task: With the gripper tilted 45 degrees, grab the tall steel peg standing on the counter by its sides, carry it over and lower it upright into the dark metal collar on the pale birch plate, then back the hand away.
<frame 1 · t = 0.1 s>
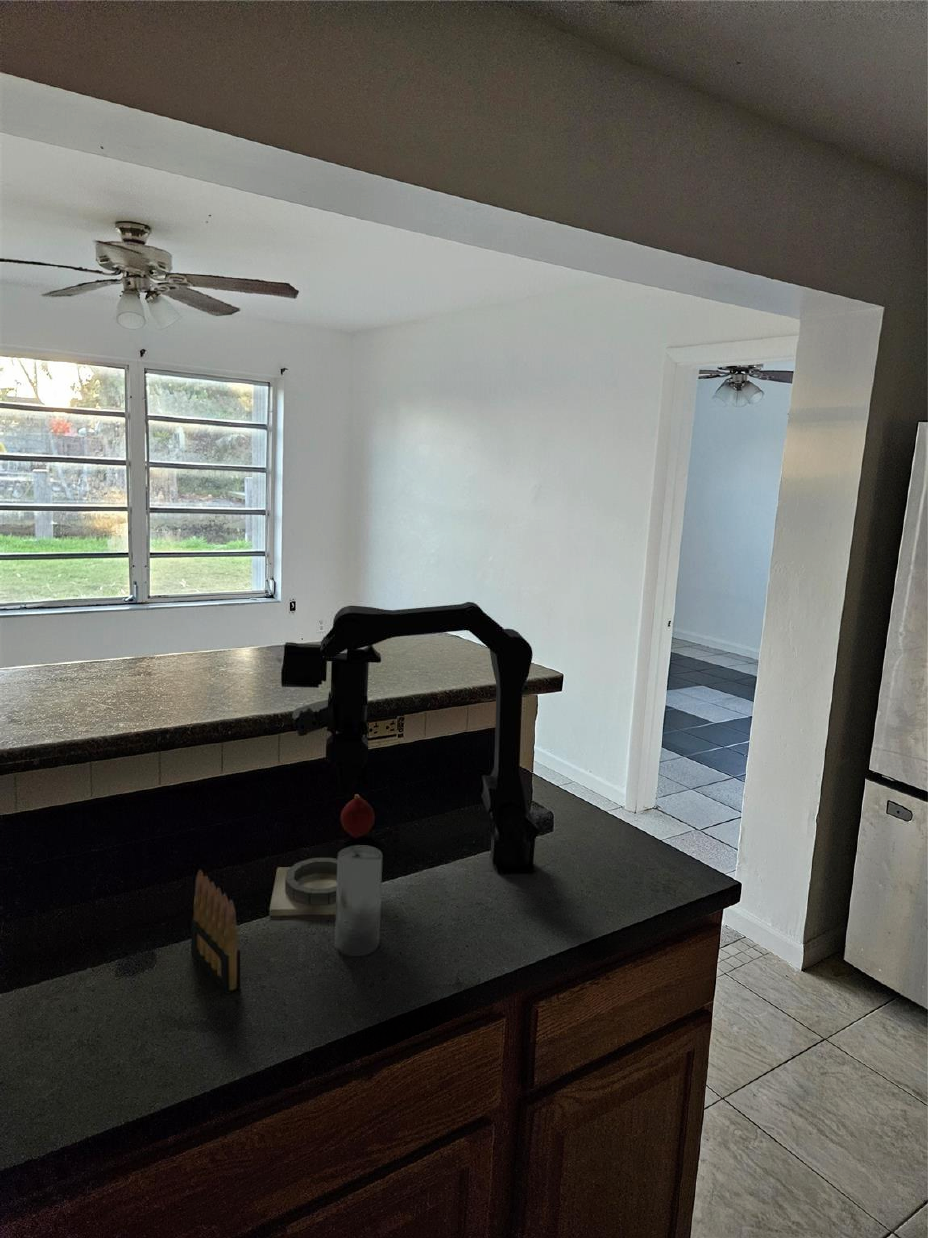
hand: (345, 782, 125), 15 cm above the counter, tool pointing down, fingers open, 9 cm apart
steel peg: (356, 943, 108), on the counter
socket plate: (320, 892, 120), on the counter
ammunition clip: (215, 971, 100), on the counter
onion: (356, 838, 138), on the counter
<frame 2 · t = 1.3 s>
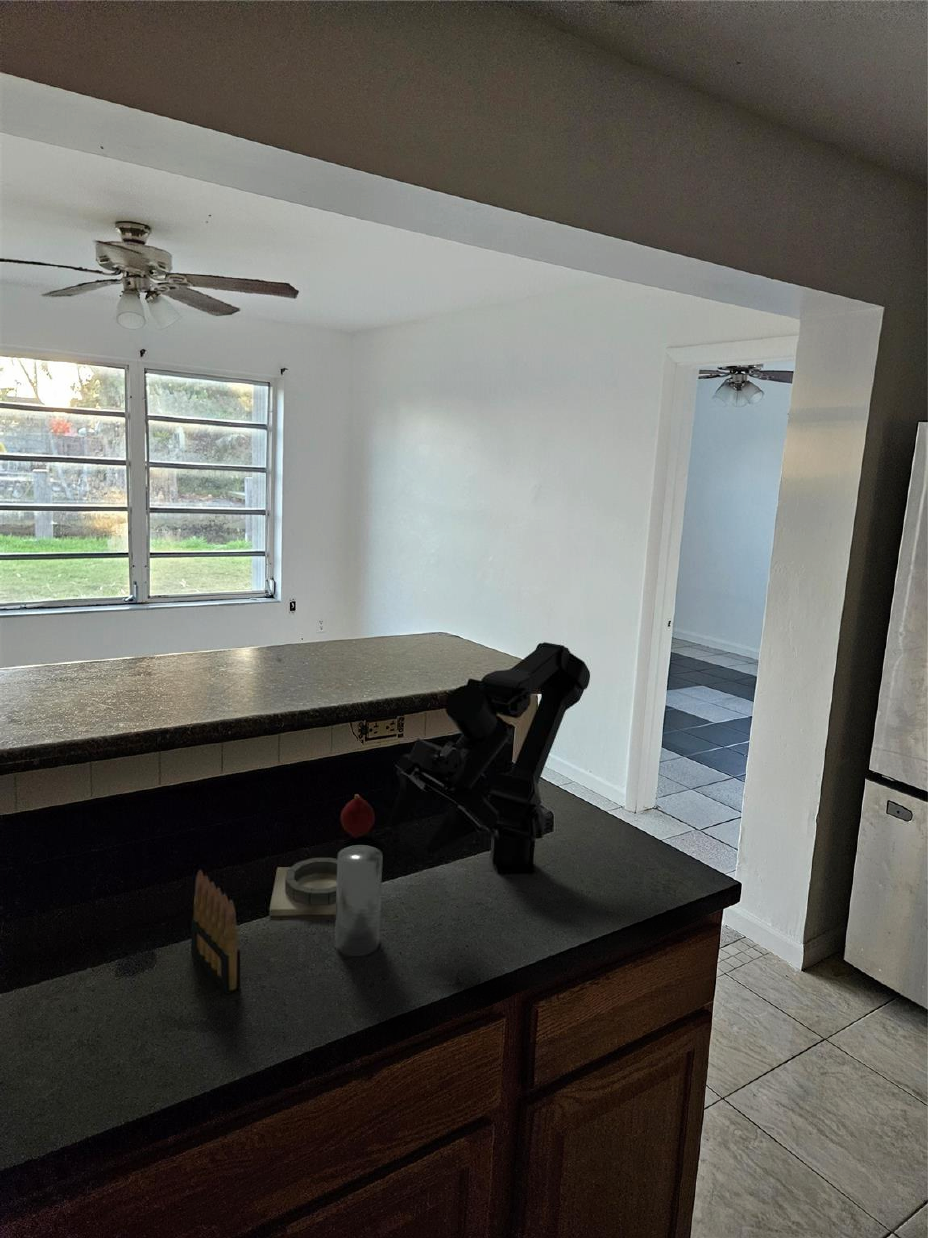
hand: (408, 839, 110), 13 cm above the counter, tool tilted 45°, fingers open, 9 cm apart
nothing on the counter moved.
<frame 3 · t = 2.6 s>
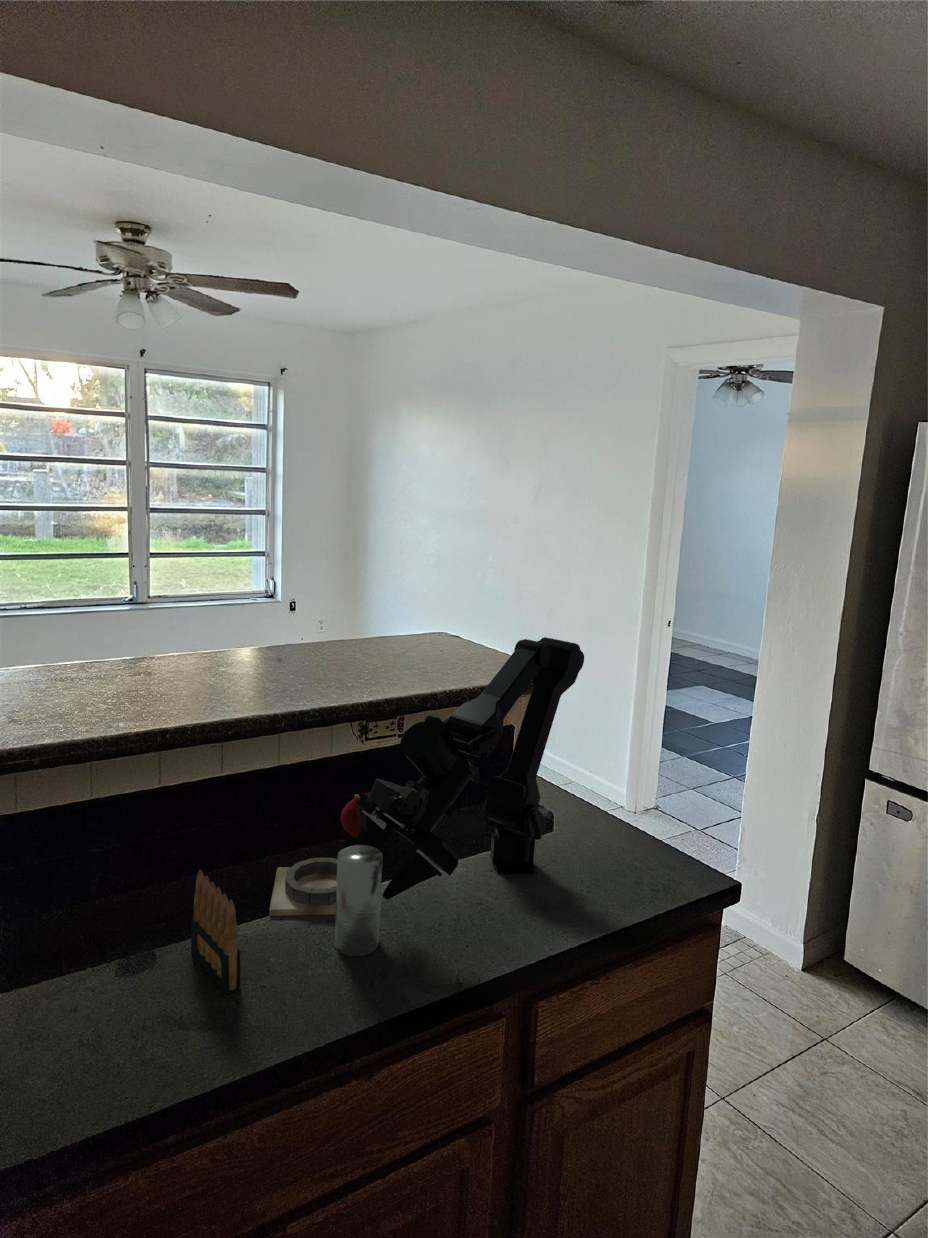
hand: (366, 882, 107), 9 cm above the counter, tool tilted 45°, fingers open, 9 cm apart
nothing on the counter moved.
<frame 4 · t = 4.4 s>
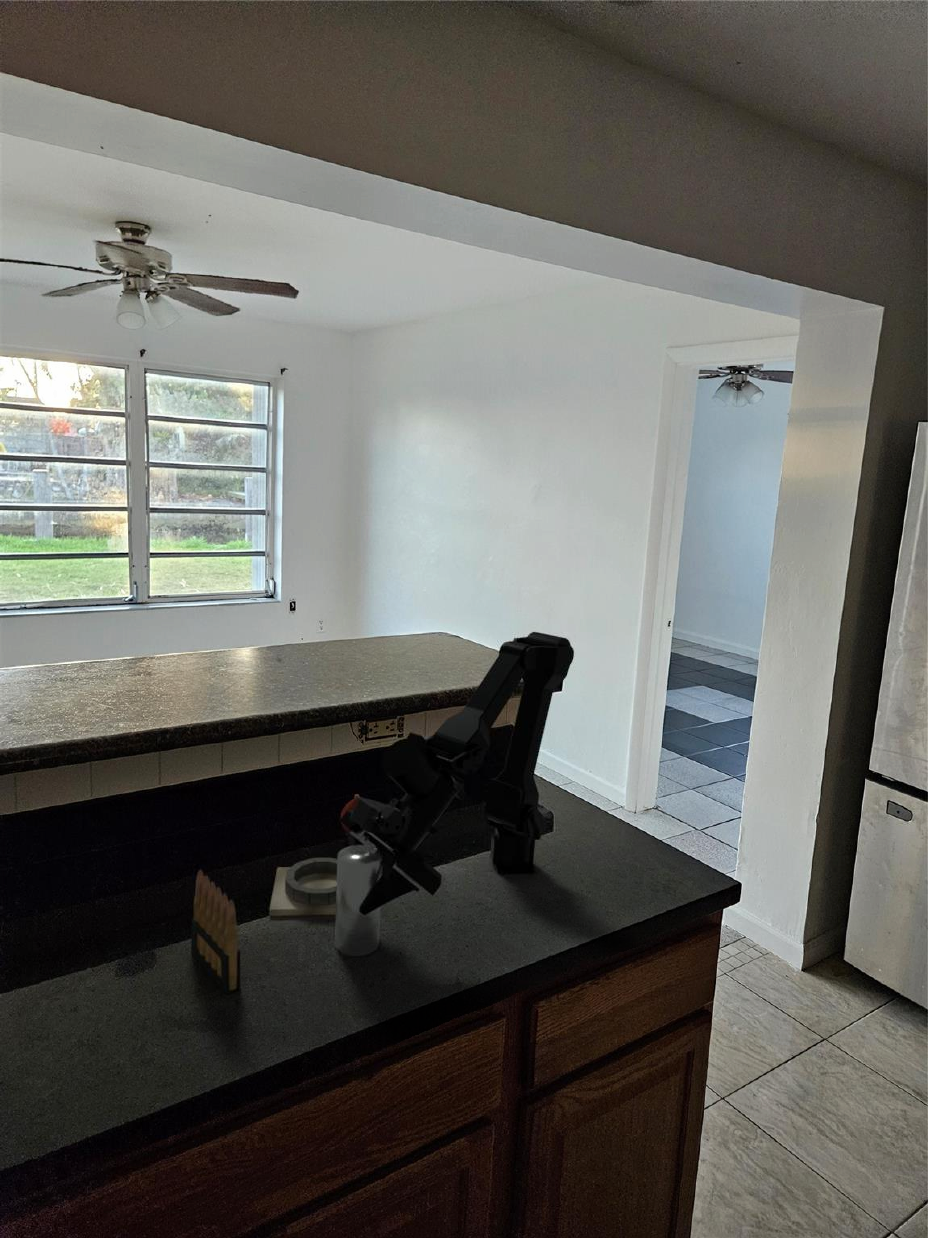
hand: (349, 902, 106), 7 cm above the counter, tool tilted 45°, fingers closed on steel peg, 6 cm apart
steel peg: (356, 943, 108), on the counter, touching gripper
everything else where it was.
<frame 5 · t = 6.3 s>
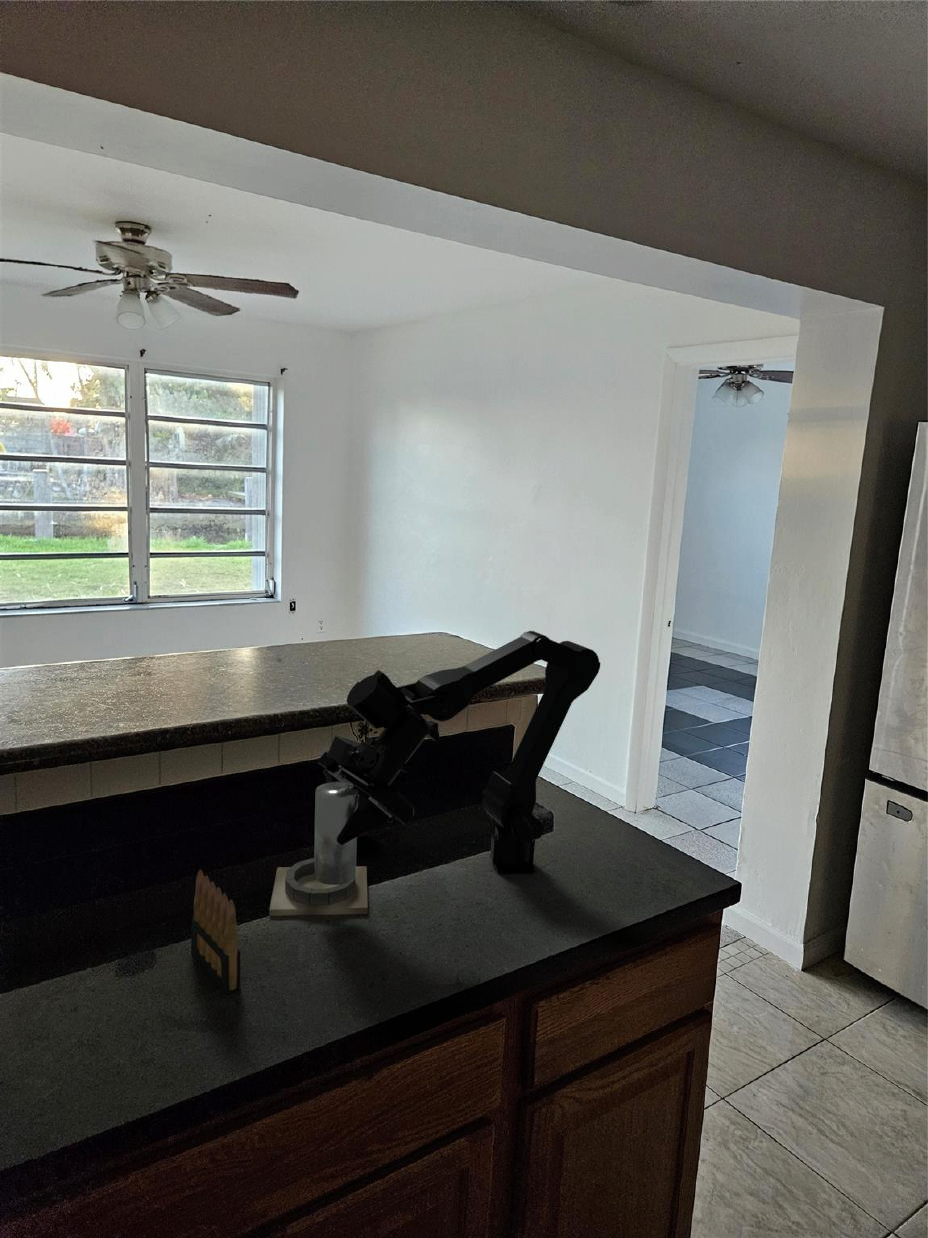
hand: (327, 834, 112), 12 cm above the counter, tool tilted 45°, fingers closed on steel peg, 6 cm apart
steel peg: (335, 874, 114), point 6 cm above the counter, touching gripper
everything else where it was.
when the fingers open (9 cm above the counter, at t = 8.5 s): steel peg stays where it is, resting on socket plate.
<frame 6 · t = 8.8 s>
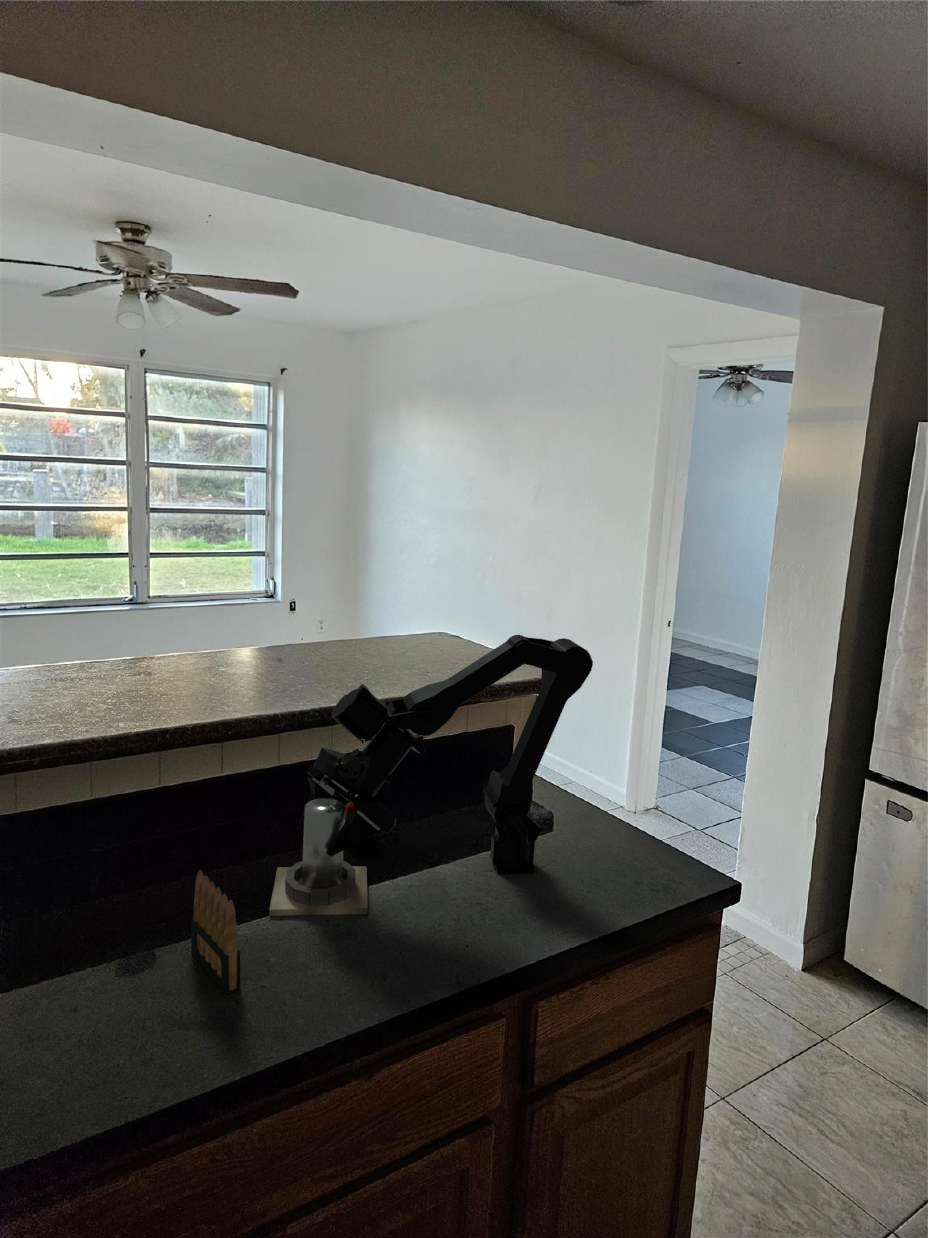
hand: (313, 841, 117), 9 cm above the counter, tool tilted 45°, fingers open, 9 cm apart
steel peg: (321, 886, 119), point 1 cm above the counter, touching socket plate
everything else where it was.
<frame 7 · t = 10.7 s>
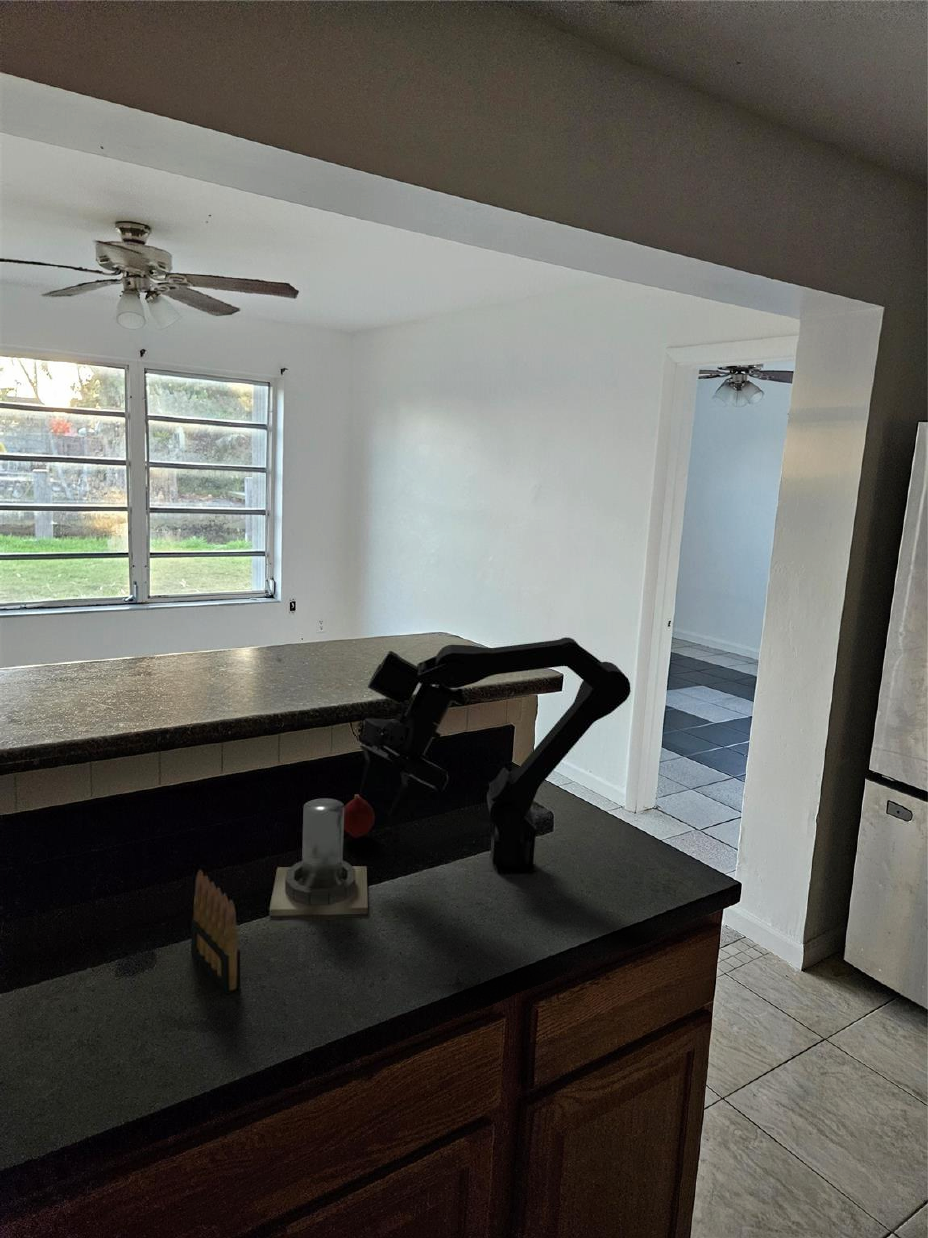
hand: (376, 806, 123), 12 cm above the counter, tool tilted 30°, fingers open, 9 cm apart
nothing on the counter moved.
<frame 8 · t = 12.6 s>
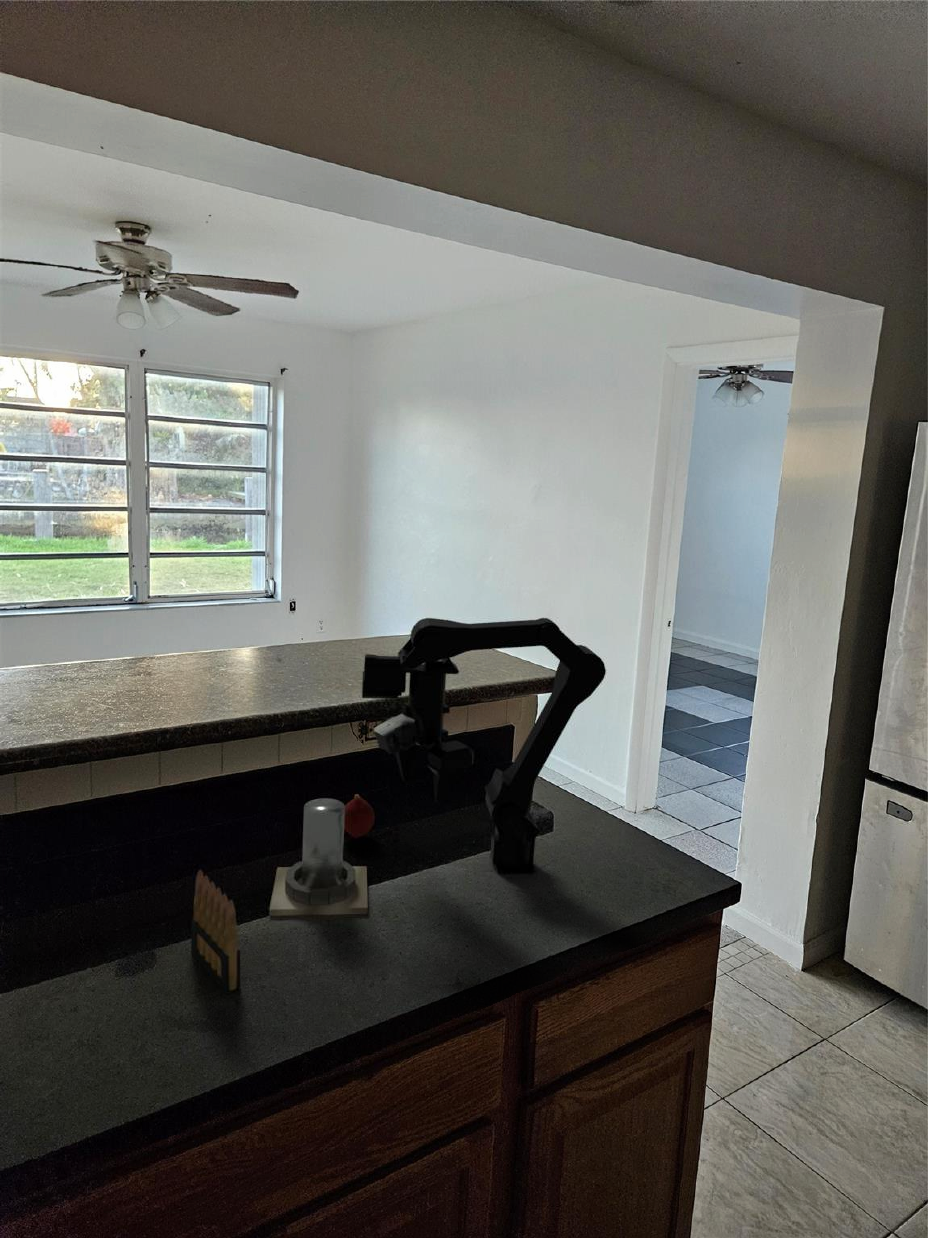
hand: (421, 791, 127), 13 cm above the counter, tool pointing down, fingers open, 9 cm apart
nothing on the counter moved.
at the end: steel peg 0.1 cm off-centre on the socket plate, point 1.0 cm above the socket plate's base; steel peg tilted 1°; the gripper is holding nothing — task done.
